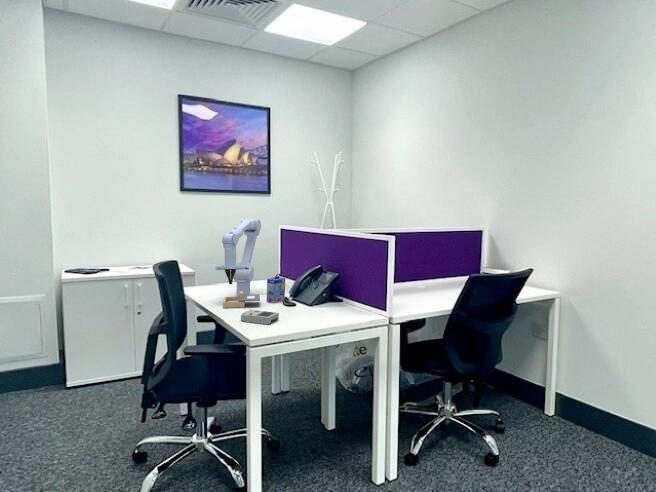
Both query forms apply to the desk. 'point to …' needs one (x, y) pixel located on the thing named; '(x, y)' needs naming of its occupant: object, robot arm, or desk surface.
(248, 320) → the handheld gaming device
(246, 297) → the lid
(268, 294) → the ink cartridge box
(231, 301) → the kraft box
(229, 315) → the desk surface
